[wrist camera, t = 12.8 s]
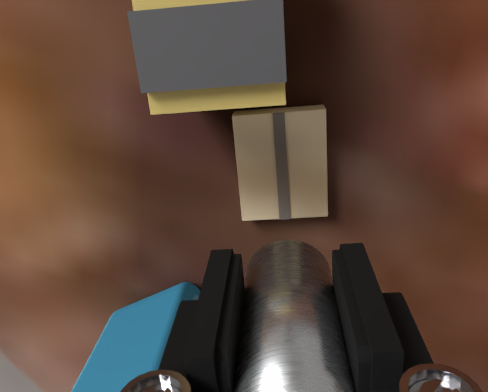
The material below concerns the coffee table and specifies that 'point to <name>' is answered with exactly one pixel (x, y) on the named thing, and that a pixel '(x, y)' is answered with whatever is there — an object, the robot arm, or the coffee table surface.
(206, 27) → the yellow and grey block
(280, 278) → the shiny grey cylinder
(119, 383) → the data package
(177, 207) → the coffee table surface
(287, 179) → the beige striped flat block
